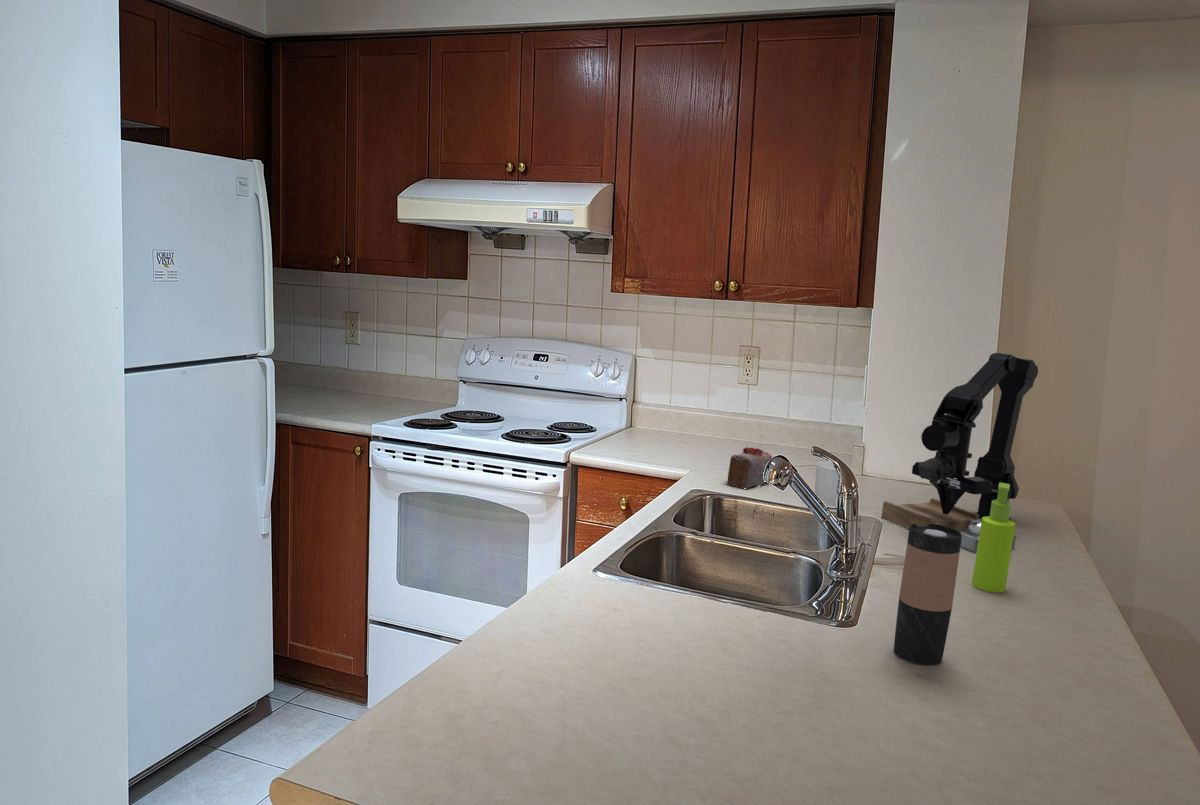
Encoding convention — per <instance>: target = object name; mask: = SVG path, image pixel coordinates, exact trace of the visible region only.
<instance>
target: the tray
mask: <svg viewBox="0 0 1200 805" xmlns="http://www.w3.org/2000/svg"><path fill="white" fill-rule="evenodd" d="M972 522H974V520H970V523H969V525H970V524H971V523H972ZM934 524H939V523H934ZM939 525H941V524H939ZM943 526H944V525H943ZM960 533H961V534H962V540H961V547H960V549H963V550H965V551H969V552H971V553H973V554H976V553H977V547H978V540H979V538H974V537H972V536H969V535H968V534H967V531H961V532H960ZM1016 537H1017V536H1016V535H1015V534H1014V537H1013V544H1012V550H1015V544H1016Z"/></svg>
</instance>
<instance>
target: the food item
mask: <svg viewBox="0 0 1200 805" xmlns="http://www.w3.org/2000/svg"><path fill="white" fill-rule="evenodd" d="M742 450H743V451H742V452H741V453H737V454H733V455H731V456H730V460H729V468H728V473H727V480H726V482H727V485H728V486H730V485H731V486H730V487H733V486H735V488H737V487H740V488H739V489H742V488H747V489H750V488H753V487H755V486H759V485H761V486H762V485H764V484H765V483H766V482H764V480H763V472H764V469H765V466H766V464H767V462H768V461H769V460H770V459H771V458H772V459H773V456H772V454H770V453H768V452H767V451H764V450H763V449H760V448H754V447H744V448H742ZM752 486H753V487H752ZM749 487H750V488H749Z"/></svg>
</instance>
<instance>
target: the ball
mask: <svg viewBox="0 0 1200 805" xmlns="http://www.w3.org/2000/svg"><path fill="white" fill-rule="evenodd" d="M981 521H982V520H977V521H974V522H972V523H971V524H970V525H969V526H968V529H967V534H968V535H969V536H972V537H974V538H979V534H980V527H981Z"/></svg>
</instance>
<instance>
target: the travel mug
mask: <svg viewBox="0 0 1200 805" xmlns="http://www.w3.org/2000/svg"><path fill="white" fill-rule="evenodd" d="M961 540H962V534H961V533H960V532H959V531H957V530H955V529H953V528H950V527H947V526H943V525H939V524H928V525H927V526H917V525H916V524H915V523H914V524H911V525H910V528H909V529H908V536H907V542H906V550H905V555H904V563H903V570H902V576H901V583H900V587H899V588H900V590H899V595H898V601H897V602H898V605H897V611H896V612H897V613H896V620H895V621H896V622H895V623H896V624H895V632H894V644H893V653H894V654H895V656H897V657H898V658H900V659H902V660H903V661H906V662H909V663H912V664H915V665H919V666H920V665H921V666H937V665H939V664H941V663H942V661H943V658H944V652H945V646H946V642H947V636H948V630H949V626H950V621H951V616H952V615H951V614H952V608H953V603H954V597H955V596H954V595H955V588H956V583H957V582H956V580H957V575H958V566H959V559H960V552H961V551H960V550H961Z"/></svg>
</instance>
